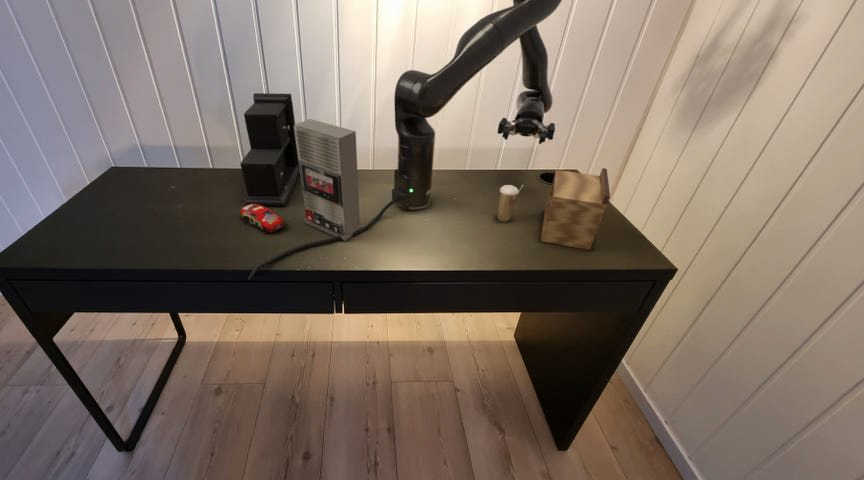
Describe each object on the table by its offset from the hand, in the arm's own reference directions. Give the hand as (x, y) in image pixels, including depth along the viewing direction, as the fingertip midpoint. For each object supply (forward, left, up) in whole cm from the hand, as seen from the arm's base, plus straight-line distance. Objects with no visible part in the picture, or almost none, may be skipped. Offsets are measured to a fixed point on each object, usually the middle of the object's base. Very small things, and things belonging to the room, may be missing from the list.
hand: (523, 138), depth 104 cm
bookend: (-55, +40, -18) cm, 70 cm away
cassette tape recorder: (-50, +11, -18) cm, 54 cm away
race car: (-64, +22, -18) cm, 70 cm away
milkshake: (-9, -7, -18) cm, 21 cm away
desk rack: (+1, -19, -18) cm, 26 cm away
